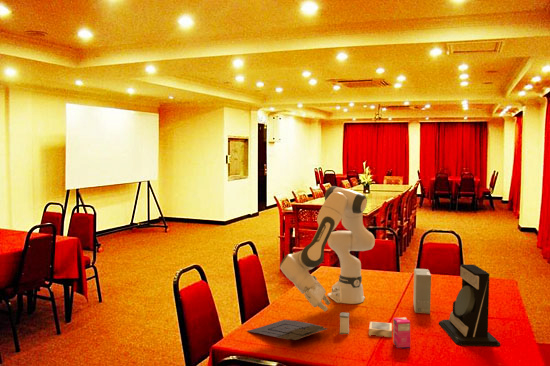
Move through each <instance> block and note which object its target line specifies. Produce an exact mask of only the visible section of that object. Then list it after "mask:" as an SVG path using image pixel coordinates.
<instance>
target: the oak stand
mask: <svg viewBox="0 0 550 366" xmlns="http://www.w3.org/2000/svg"><path fill="white" fill-rule="evenodd" d="M371 335H376V336H375V337H383V336H384V337H385V338H393V323H392V322H381V321H369V327H368V336H371ZM384 337H383V338H384Z"/></svg>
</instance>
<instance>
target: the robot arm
mask: <svg viewBox="0 0 550 366" xmlns="http://www.w3.org/2000/svg"><path fill="white" fill-rule="evenodd" d="M367 198H368V197H366V195H365V194H363V193H361V192H357V191H355V190H353V189H350V188H343V187H339V186H336V185H332V186H330V187H328V188H327V190H326V191H325V193H324V202H323V203H322V206H321V208H320V209H319V212H318V214H317V218H316V222H317V224H318V227H317V230H316V232H315V234H314V236H313V238H312V240H311V242H310V243H309V244H307V245H306V246H305V247H304V248H302V250H300V251H296V252H294V253H288V254H286V255H285V256H284V258H283V259H282V260H281V261H280V264H279V268H280V270H281V272H282V273H283V274H284V276H285V277H286V278H287V279H288V280H289V281H290V282H292V283H293V284H294V286H295V288H297V290H298V291H299V292H300V293H301V294H302V295H304V297H305V299H306V300H307V301H308V302H309V304H310V305H311V306H312V307H314V308H317V307H318V308H319V309H322V310H323V312H326V311H328V306H329V305H330V304H331V300H329V298H330V299H332V300H333V301H334V302H335V303H337V304H347V305H349V304H350V305H351V304H352V305H354V304H361V303H363V302H364V301H365V299H366V297H365V295H364V287H363V284H362V280H363V278H362V277H363V276H362V263H361V260H360V259H359V258H357V257H356V256H354V255H352V254H351V253H350V252H352V251H354V252H366V251H370V250H372V249H373V248H374V246H375V242H376V239H375V236H374V234H373V233H372V232H371V231H369V230H368V229H367V228H366V226H365V225H364V221H363V213H364V211H365V210H366V207H367V203H368V199H367ZM340 222H341V225H342V226H343V227H344V229H346V230H336V231H335V229H336V228H337V226H338V225H339V224H340ZM326 245H328V247H329V248H330V249H331V250H332V251H334V252H335V254H336V255H337V257H338V259H339V264H340V274H339V275H338V281H336V282H335V283H334V284H332V286H331V292H328V293H327V291H326V289H325V288H324V286H323V285H322V284H321V282H319V281H318V280H317V279H318V278H317V277H316V275H312V274H310V272H309V271H310V270H312V269H315V267H318V266H320V265H321V264H323V261H324V255H325V247H326ZM326 293H327V295H326ZM328 297H329V298H328ZM322 300H323V301H324V303H323V302H322ZM325 304H326V305H325Z"/></svg>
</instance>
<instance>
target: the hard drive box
mask: <svg viewBox="0 0 550 366" xmlns="http://www.w3.org/2000/svg"><path fill="white" fill-rule="evenodd" d="M431 289H432V274H431V272H430V270H429V269H428V268H427V269H426V268H414V269H413V297H412V298H413V300H412V301H413V302H412V304H413V309H414V313H417V314H431V300H432V299H431V298H432V297H431V294H432V293H431V292H432V291H431Z"/></svg>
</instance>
